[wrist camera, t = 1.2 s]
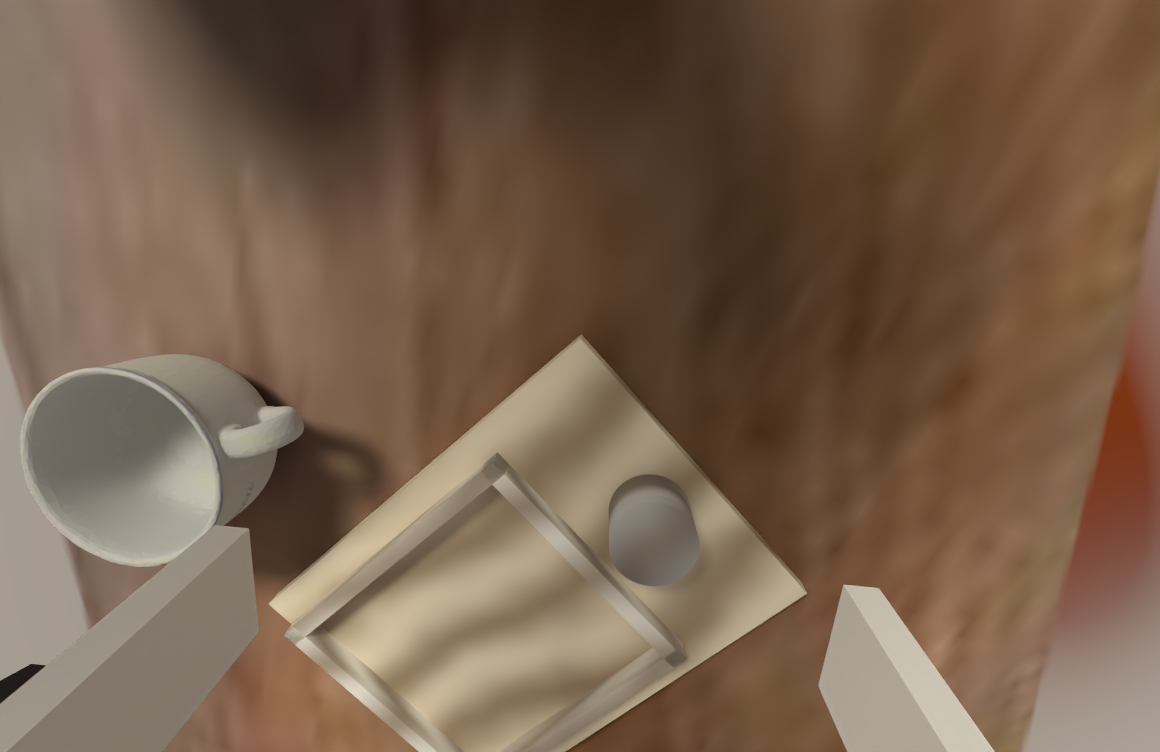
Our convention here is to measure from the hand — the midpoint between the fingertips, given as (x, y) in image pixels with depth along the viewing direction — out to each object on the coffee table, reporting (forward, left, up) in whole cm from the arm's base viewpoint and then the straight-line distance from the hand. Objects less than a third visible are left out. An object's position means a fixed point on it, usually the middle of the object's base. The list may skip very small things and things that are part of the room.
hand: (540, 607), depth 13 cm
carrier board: (+10, -13, -23) cm, 28 cm away
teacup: (-11, -19, -23) cm, 32 cm away
